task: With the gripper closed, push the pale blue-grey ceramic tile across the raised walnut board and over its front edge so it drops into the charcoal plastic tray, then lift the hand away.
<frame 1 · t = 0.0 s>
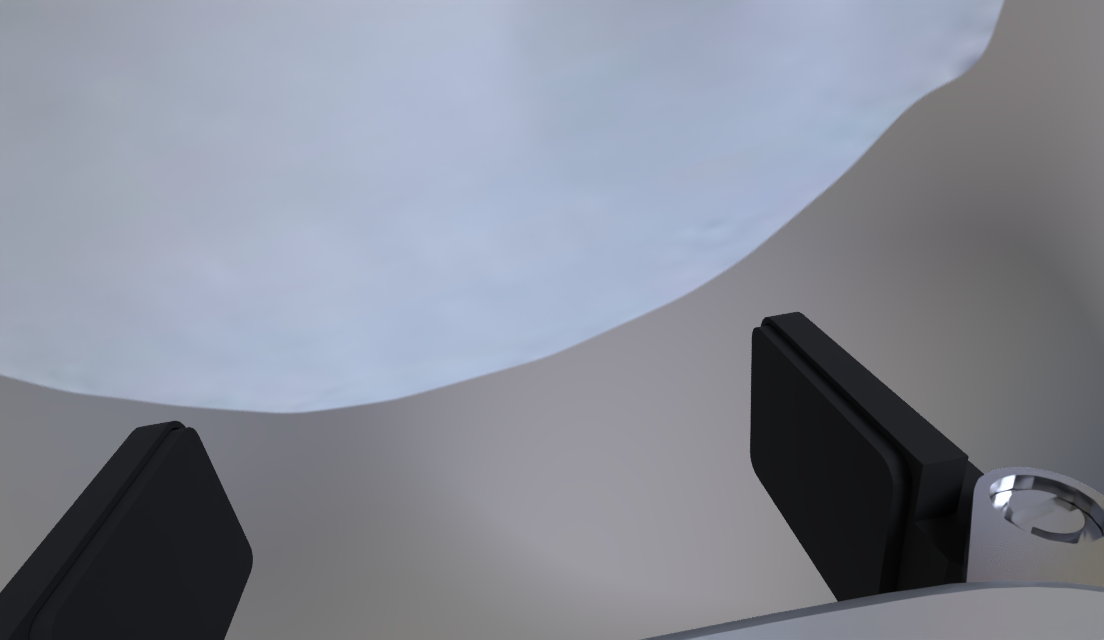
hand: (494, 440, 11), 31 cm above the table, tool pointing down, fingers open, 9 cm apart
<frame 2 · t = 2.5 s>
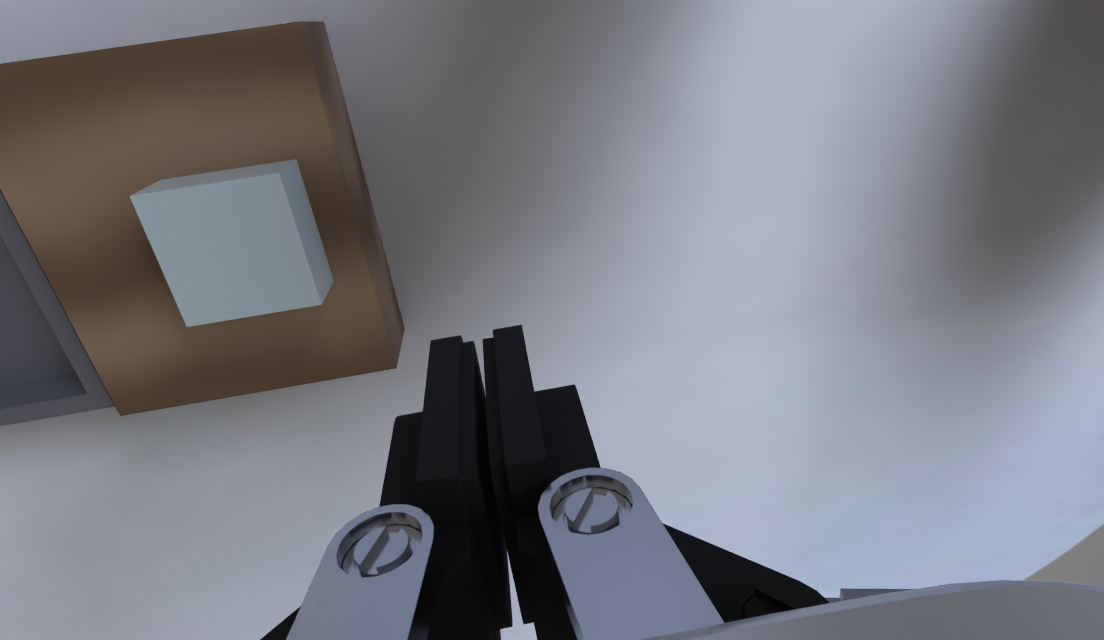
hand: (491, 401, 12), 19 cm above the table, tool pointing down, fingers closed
board: (234, 213, 28), on the table
tile: (251, 232, 24), point 4 cm above the table, touching board
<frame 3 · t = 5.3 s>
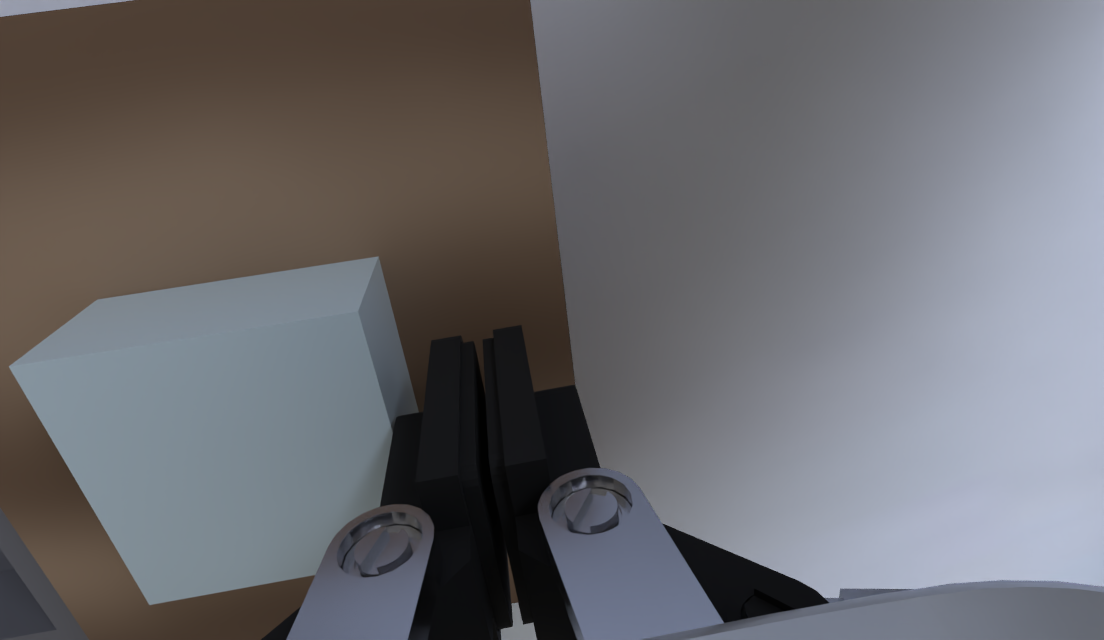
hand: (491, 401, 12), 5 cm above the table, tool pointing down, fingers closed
board: (317, 310, 16), on the table
tile: (282, 393, 12), point 4 cm above the table, touching gripper
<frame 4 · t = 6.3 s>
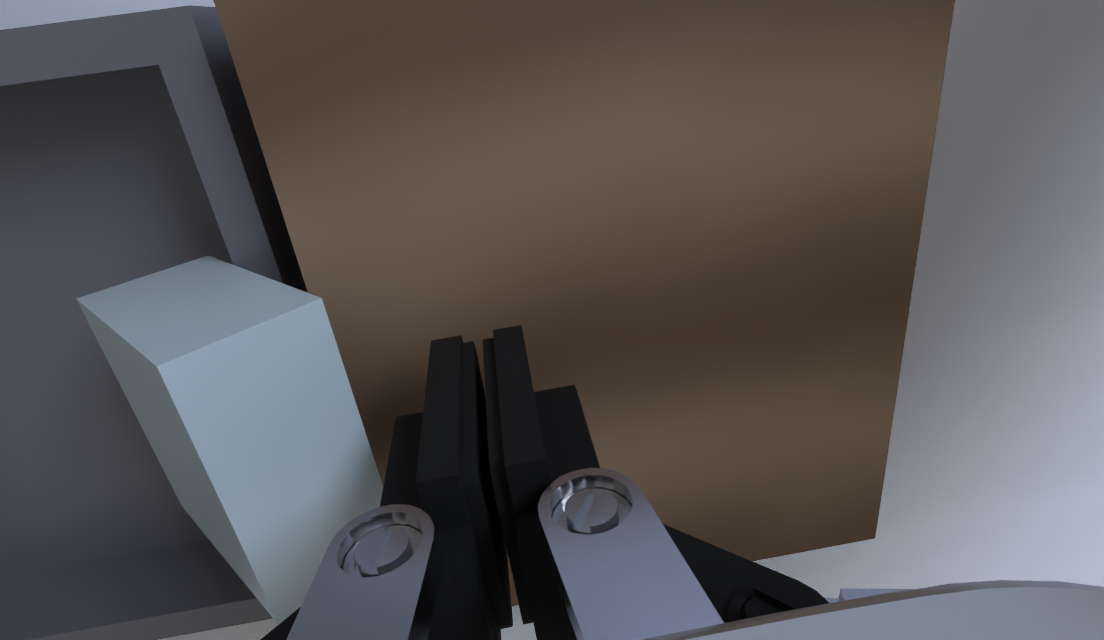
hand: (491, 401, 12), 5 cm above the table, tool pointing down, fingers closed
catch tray: (89, 350, 16), on the table
board: (596, 270, 16), on the table
tile: (299, 389, 12), point 4 cm above the table, tilted 50°
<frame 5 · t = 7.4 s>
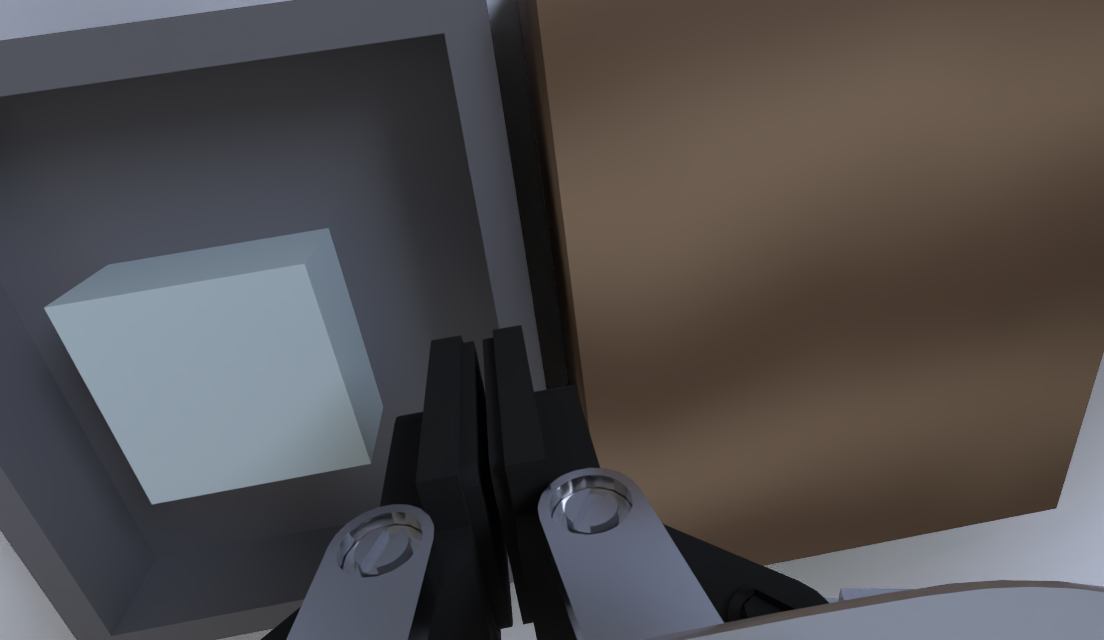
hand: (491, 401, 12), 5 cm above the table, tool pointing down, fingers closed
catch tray: (284, 328, 16), on the table
board: (777, 245, 17), on the table
tile: (222, 392, 13), point 3 cm above the table, tilted 180°, touching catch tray
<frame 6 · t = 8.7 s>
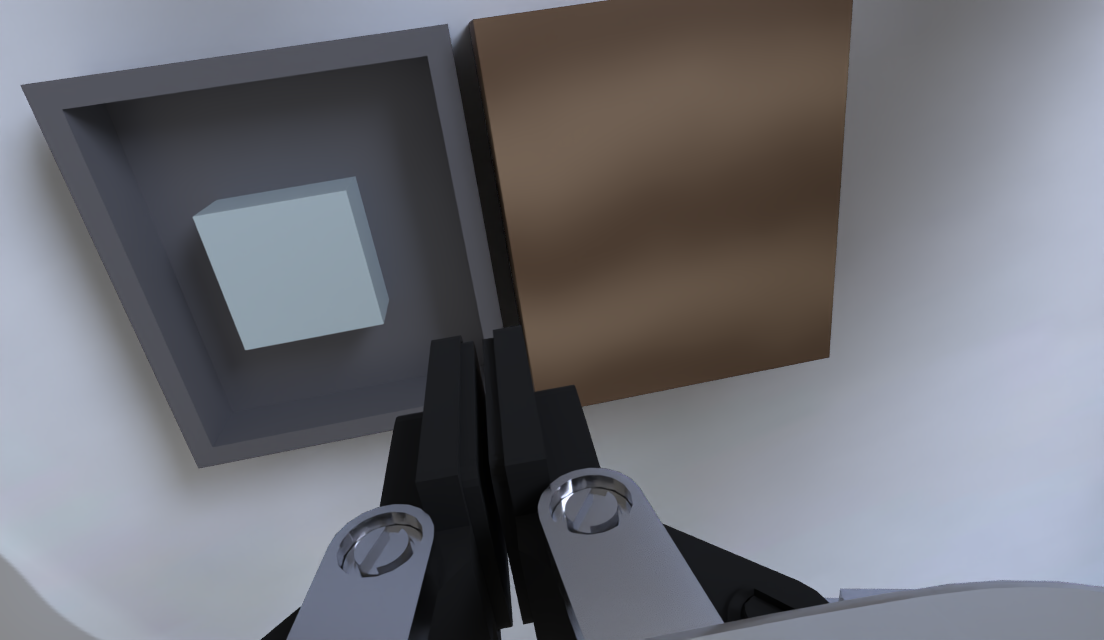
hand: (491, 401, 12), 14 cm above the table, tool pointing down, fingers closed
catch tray: (324, 245, 24), on the table
board: (646, 190, 25), on the table
tile: (293, 273, 22), point 3 cm above the table, tilted 180°, touching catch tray
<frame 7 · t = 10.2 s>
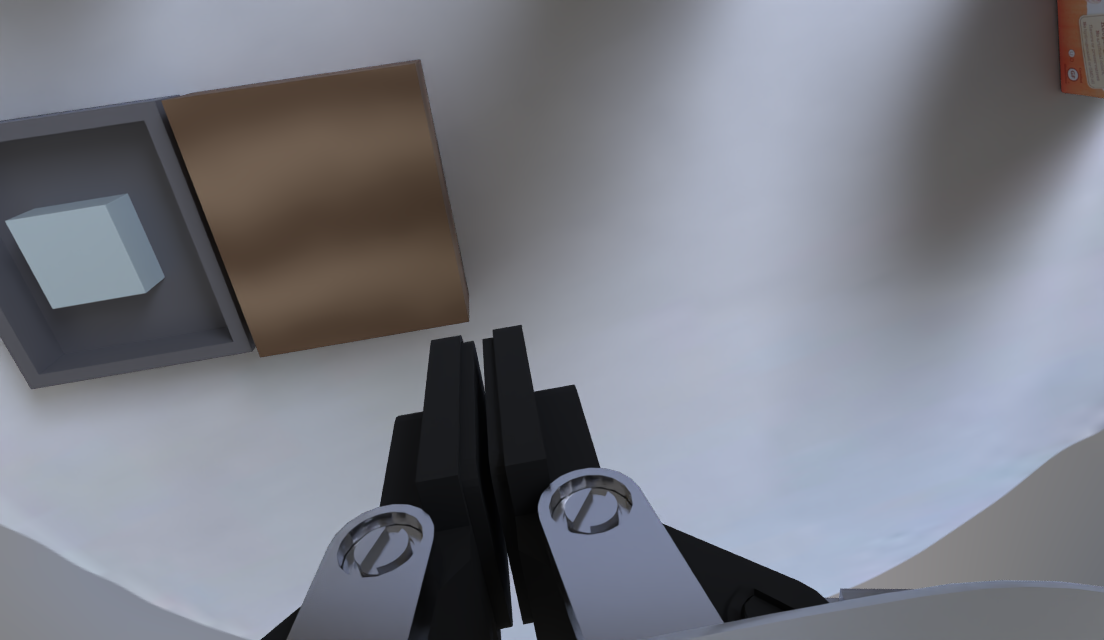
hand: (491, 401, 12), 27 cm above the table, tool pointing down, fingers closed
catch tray: (116, 239, 36), on the table
board: (344, 203, 36), on the table
tile: (78, 258, 33), point 3 cm above the table, tilted 180°, touching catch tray
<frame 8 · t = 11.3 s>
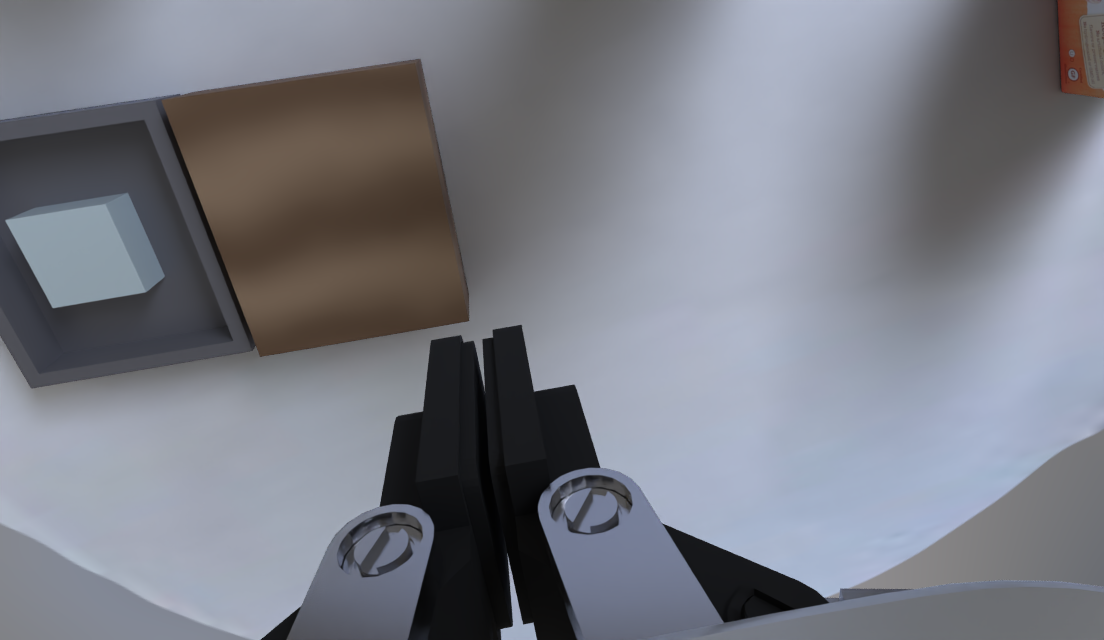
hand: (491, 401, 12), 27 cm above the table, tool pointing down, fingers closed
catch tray: (116, 238, 36), on the table
board: (344, 202, 36), on the table
tile: (78, 257, 33), point 3 cm above the table, tilted 180°, touching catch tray
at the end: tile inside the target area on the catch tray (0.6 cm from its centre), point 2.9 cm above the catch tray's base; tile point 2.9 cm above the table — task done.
